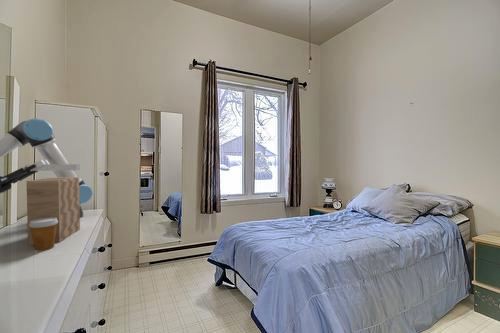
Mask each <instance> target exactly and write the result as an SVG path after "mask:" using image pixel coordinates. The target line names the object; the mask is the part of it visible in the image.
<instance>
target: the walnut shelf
mask: <svg viewBox="0 0 500 333" xmlns="http://www.w3.org/2000/svg"><path fill="white" fill-rule="evenodd" d="M79 178H80V177H78V176H77V177H68V178H57V177H50V178H48V177H47V178H41V179H33V180H26V215H27V217H26V218H27V219H26V220H27V221H26V223H27V245H28V246H29V245H31V246H32V245H34V244H33V239H32V233H31V228H30V226H29V224H30V221H32V220H36V219H41V218H57V221H58V223H57V228H56V235H55V243H54V244H56V243H58V244H59V243H62V242H63V241H65V240H66V239H68V238H69V237H70V236H72V235H74V234H75V233H77V232H78V231H80V230H81V217H80V206H81V204H80V198H79Z"/></svg>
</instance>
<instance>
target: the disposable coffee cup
mask: <svg viewBox="0 0 500 333" xmlns="http://www.w3.org/2000/svg"><path fill="white" fill-rule="evenodd" d="M57 223H58V221H57V218H41V219H36V220H32V221H30V224H29V226H30V228H31V233H32V239H33V244H32V245H33V249H34V251H36V252H42V251H47V250H51V249H53V248H54V247H55V244H56V243H55V235H56V228H57Z"/></svg>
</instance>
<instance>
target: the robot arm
mask: <svg viewBox="0 0 500 333" xmlns="http://www.w3.org/2000/svg"><path fill="white" fill-rule="evenodd" d="M1 138H2V139H1ZM1 138H0V139H1V140H0V159H2V158H3V157H5V156H6V155H7V154H9V153H11V152H12V151H14V150H15V149H17V148H19V147H20V148H21V147H24V146H25V145H26V144H29V145H30V146H31V148H34V149H37V150H38V152H39V154H40V155H41V156H42V158H43V159H44V160H43V159H40V160H38V161H35V162H34V163H32V164H28V165H29V166H28V167H25V166H24V167H20V168H18V169H16V170H14V171H12V172H10V173H8V174H6V175H4V176H0V194H2V193H5V192H7V191H9V190H11V189H12V184H16V183H18V182H19V181H20V182H21V181H23V180H24V179H27V178H28V177H30V176H33V175H35V174H36V173H38V172H39V171H33V170H35V169H37V168H39V167H41V166H43V165H54V164H70V163H69V162H68V160H67V159H66V158H65V156H64V154H63V153H62V151H61V150H60V148H59V147H58V146H57V144H56V140H57V139H56V136H55V135H54V129H53V127H52V124H51V123H49V122H48V121H46V120H44V119H41V118H30V119H27V120H23V121H21V122H20V123H18V124H17V125H15V127H12V128H11V129H10V130H9V131H7V132H5V136H2V137H1ZM74 171H75V170H62V171H52V172H53V174H54V175H55V177H56V178H68V177H78V175H77V174H76V172H74ZM93 193H94V191H93V188H92V187H90V186H89V185H87V184H86V183H85V181H84V180H83V178H80V177H79V198H80V218H83V217H84V211H83V208H82V206H81V204H86V203H87V202H89V201H90V200H91V199H92V197H93V195H94V194H93Z"/></svg>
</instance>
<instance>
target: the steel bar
mask: <svg viewBox="0 0 500 333" xmlns="http://www.w3.org/2000/svg"><path fill="white" fill-rule="evenodd" d="M29 165H30V164H24V168H25V167H28V166H29ZM62 170H73V171H80V163H79V164H77V163H76V164H70V163H69V164H54V165H43V166H41V167H39V168H37V169H35V170H33V171H38V172H39V171H40V172H41V171H43V172H44V171H45V172H46V171H50V172H51V171H52V172H53V171H62Z"/></svg>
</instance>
